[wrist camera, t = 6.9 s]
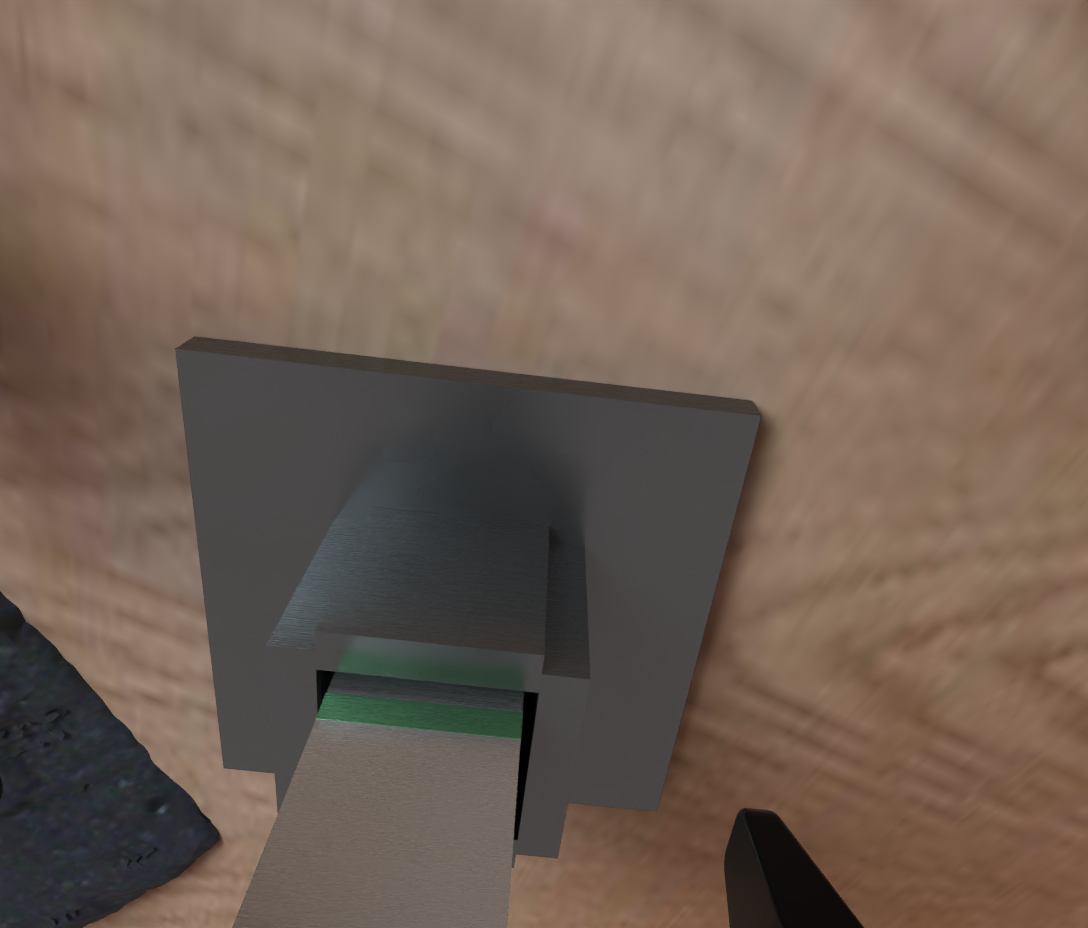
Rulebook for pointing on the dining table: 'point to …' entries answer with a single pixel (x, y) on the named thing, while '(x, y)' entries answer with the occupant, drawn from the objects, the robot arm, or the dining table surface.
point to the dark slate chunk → (78, 795)
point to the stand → (459, 553)
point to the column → (396, 811)
